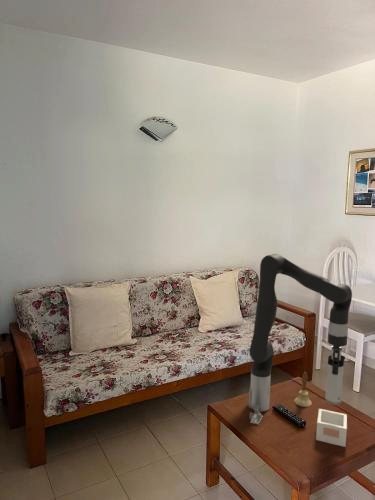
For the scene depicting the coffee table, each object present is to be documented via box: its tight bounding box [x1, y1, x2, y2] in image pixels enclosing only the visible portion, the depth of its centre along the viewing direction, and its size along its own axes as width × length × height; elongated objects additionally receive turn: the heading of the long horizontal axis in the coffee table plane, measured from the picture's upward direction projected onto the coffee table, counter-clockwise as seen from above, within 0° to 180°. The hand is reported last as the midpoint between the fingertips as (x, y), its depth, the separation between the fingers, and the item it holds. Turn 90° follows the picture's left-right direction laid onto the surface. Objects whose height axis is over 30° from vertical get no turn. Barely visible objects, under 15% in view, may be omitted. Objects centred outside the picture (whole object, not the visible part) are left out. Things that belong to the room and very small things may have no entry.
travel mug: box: [324, 354, 346, 406], centre depth 159 cm, size 6×7×20 cm
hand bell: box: [293, 371, 313, 408], centre depth 187 cm, size 8×8×16 cm
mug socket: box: [315, 408, 348, 448], centre depth 161 cm, size 11×12×8 cm
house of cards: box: [249, 405, 264, 426], centre depth 174 cm, size 9×9×8 cm
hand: (335, 370), depth 158 cm, fingers closed on travel mug, 6 cm apart
